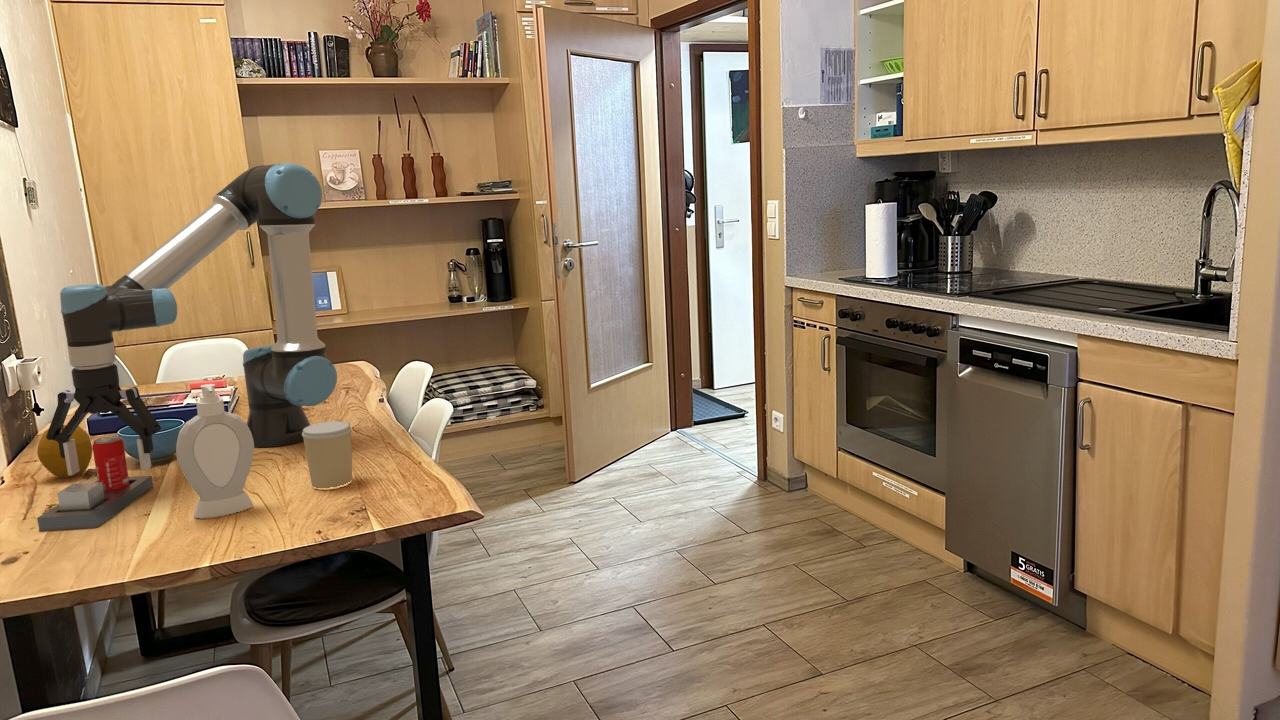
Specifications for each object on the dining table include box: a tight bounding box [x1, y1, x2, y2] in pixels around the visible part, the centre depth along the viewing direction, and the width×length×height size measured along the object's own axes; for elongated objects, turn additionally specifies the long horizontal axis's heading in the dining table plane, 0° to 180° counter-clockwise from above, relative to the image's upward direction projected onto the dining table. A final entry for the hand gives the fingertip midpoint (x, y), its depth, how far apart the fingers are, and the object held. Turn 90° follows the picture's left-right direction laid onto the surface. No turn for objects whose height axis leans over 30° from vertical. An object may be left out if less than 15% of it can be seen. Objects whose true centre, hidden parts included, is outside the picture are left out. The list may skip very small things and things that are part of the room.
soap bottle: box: [175, 383, 255, 520], centre depth 159 cm, size 13×8×24 cm, turn 122°
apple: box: [36, 424, 93, 479], centre depth 186 cm, size 10×10×12 cm
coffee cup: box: [302, 421, 353, 488], centre depth 175 cm, size 9×9×12 cm
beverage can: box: [92, 435, 130, 491], centre depth 171 cm, size 5×5×12 cm
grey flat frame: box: [36, 475, 154, 532], centre depth 166 cm, size 10×22×6 cm, turn 5°
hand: (110, 471), depth 171 cm, fingers open, 13 cm apart
